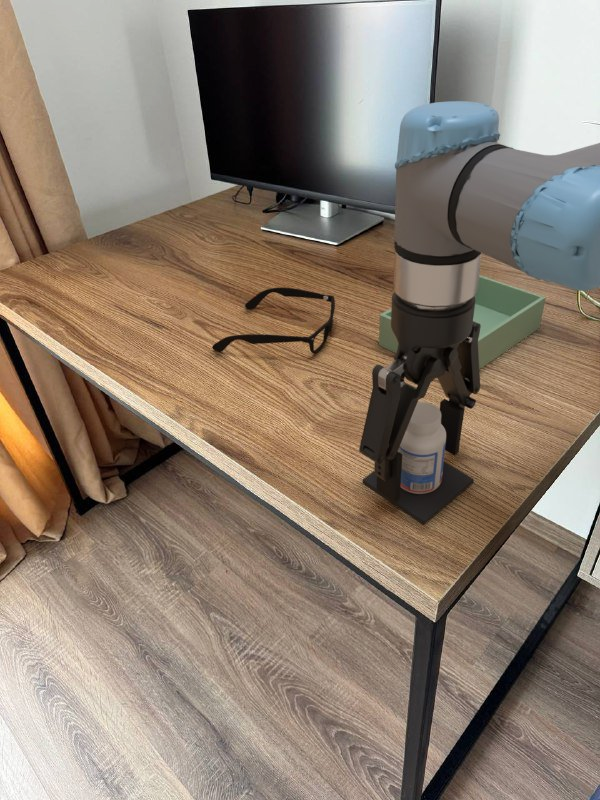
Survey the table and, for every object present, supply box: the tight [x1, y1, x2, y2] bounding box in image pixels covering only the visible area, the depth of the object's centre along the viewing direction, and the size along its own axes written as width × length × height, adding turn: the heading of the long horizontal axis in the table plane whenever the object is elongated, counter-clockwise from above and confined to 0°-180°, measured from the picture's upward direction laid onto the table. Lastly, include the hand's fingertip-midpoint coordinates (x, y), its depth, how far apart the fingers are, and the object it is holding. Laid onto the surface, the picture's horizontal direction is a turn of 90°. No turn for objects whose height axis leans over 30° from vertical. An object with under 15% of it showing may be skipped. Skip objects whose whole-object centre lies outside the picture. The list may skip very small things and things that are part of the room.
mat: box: [362, 461, 475, 526], centre depth 68 cm, size 9×9×1 cm
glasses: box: [211, 287, 336, 355], centre depth 96 cm, size 17×18×5 cm
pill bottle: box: [398, 401, 446, 494], centre depth 65 cm, size 6×5×10 cm
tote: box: [378, 274, 547, 370], centre depth 91 cm, size 15×21×6 cm
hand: (418, 470), depth 67 cm, fingers open, 10 cm apart
